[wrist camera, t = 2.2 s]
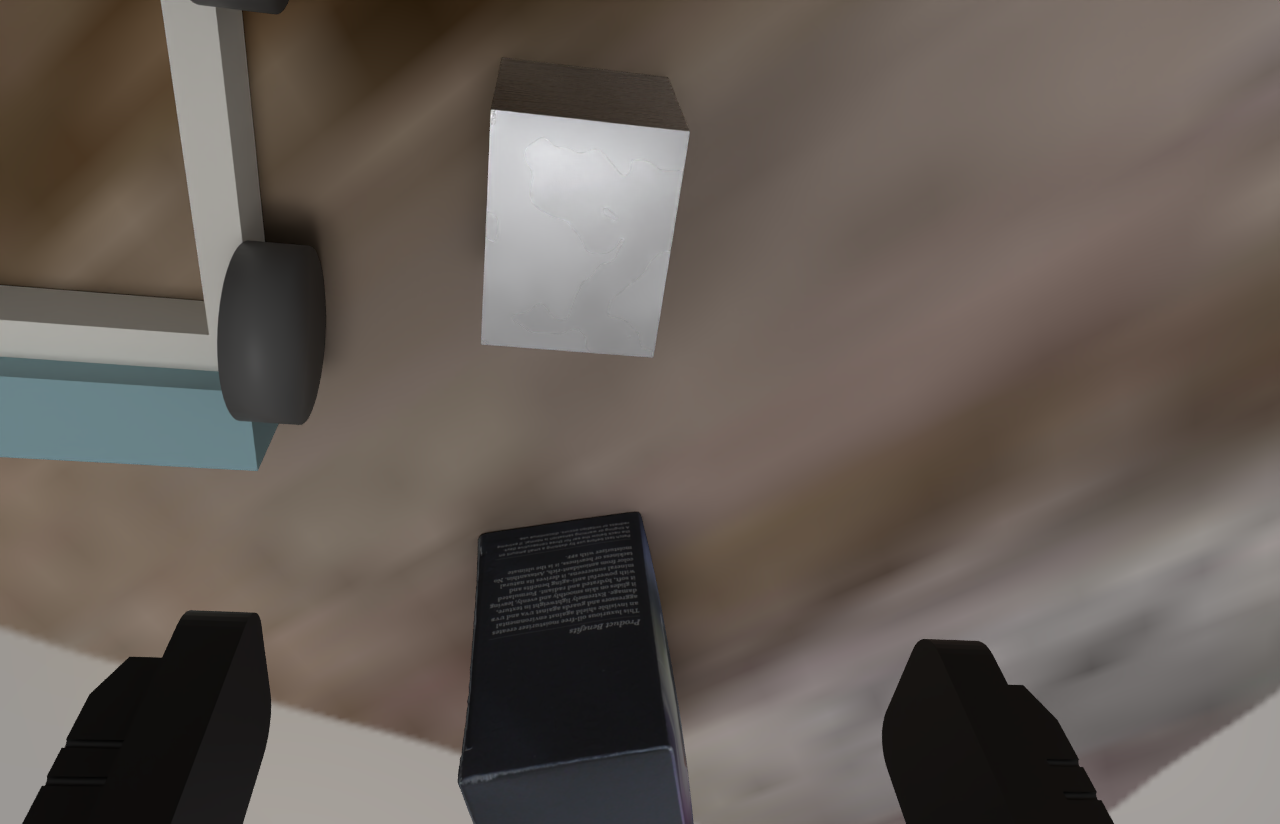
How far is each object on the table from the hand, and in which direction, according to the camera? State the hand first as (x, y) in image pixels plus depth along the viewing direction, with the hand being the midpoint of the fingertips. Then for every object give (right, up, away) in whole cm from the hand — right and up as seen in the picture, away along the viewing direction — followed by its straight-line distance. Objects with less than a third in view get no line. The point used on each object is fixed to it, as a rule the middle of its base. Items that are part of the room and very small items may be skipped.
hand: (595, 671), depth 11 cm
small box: (-2, -5, +25) cm, 26 cm away
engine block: (-1, +10, +15) cm, 18 cm away
